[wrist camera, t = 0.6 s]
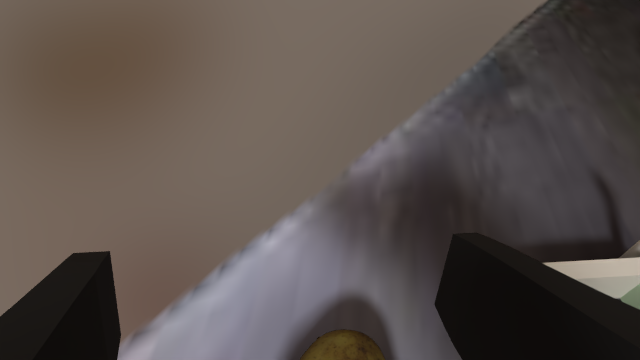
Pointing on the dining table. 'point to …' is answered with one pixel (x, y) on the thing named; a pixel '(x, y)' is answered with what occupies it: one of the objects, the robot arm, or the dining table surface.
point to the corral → (606, 276)
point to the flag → (632, 251)
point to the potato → (343, 347)
